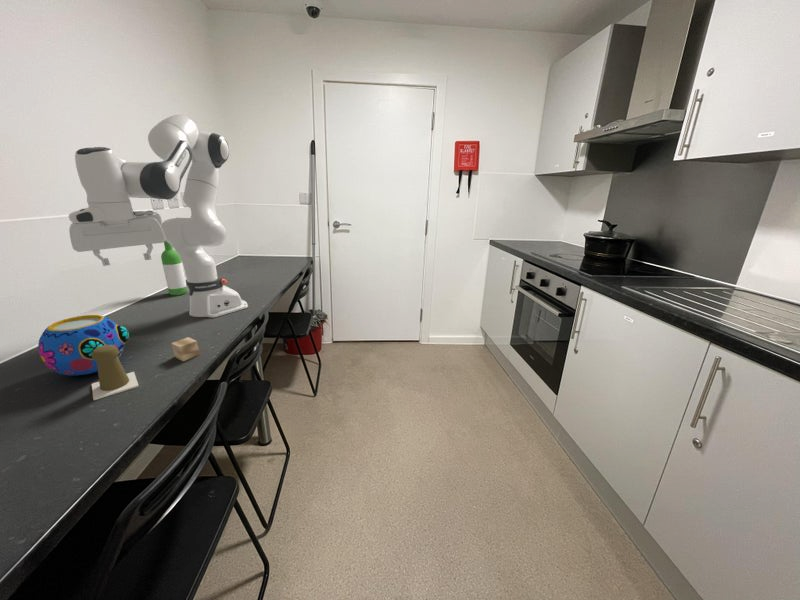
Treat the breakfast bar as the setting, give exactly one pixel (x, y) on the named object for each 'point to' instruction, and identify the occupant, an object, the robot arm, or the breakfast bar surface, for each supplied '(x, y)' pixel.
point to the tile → (101, 394)
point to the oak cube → (185, 349)
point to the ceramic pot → (79, 343)
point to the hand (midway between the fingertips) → (128, 262)
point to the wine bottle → (173, 271)
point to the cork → (109, 368)
